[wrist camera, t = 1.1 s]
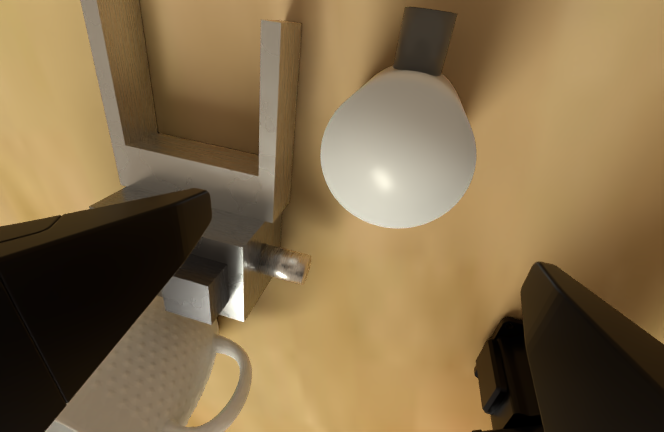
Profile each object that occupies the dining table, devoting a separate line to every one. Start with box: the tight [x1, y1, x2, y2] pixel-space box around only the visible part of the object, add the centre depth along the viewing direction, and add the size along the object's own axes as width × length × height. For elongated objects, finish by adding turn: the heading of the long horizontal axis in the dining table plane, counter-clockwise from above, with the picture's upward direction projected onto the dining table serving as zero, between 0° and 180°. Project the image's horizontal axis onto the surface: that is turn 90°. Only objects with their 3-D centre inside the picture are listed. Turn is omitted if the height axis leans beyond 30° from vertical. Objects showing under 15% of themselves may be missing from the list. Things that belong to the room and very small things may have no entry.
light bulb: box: [321, 7, 476, 228], centre depth 16 cm, size 6×8×7 cm
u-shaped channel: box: [80, 0, 311, 325], centre depth 20 cm, size 14×17×8 cm
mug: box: [45, 296, 252, 432], centre depth 27 cm, size 15×11×13 cm
